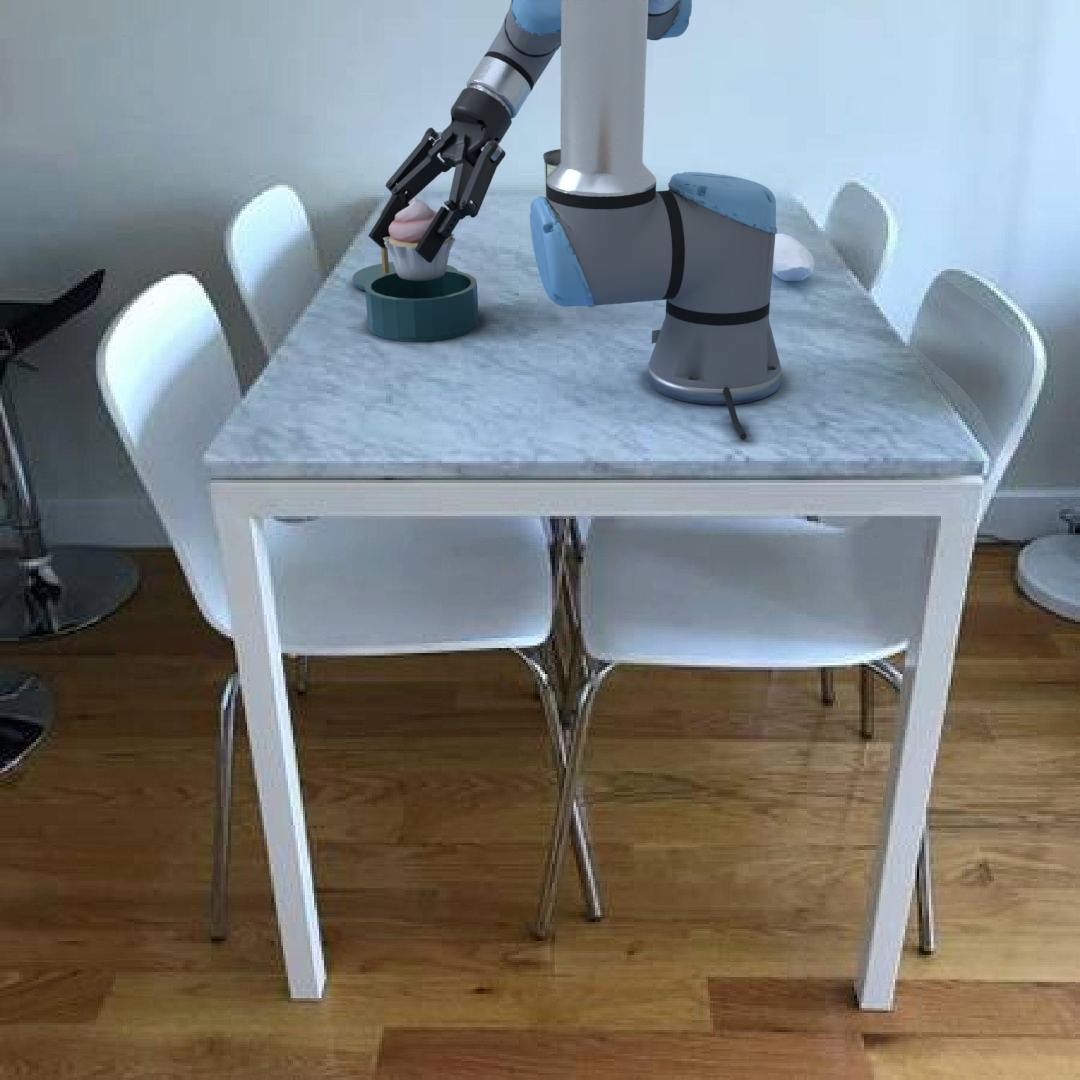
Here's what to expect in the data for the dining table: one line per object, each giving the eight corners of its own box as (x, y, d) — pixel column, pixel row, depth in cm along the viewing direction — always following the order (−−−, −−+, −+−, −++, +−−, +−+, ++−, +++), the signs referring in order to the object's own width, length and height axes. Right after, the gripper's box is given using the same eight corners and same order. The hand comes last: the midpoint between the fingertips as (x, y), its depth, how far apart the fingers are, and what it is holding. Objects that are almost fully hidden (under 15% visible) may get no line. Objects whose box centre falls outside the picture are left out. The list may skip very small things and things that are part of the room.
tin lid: (480, 282, 181) (478, 223, 177) (395, 305, 172) (391, 242, 168) (415, 262, 191) (412, 206, 187) (332, 283, 182) (326, 223, 178)
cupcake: (417, 261, 167) (412, 186, 162) (471, 271, 162) (467, 194, 157) (370, 278, 160) (363, 200, 155) (424, 289, 155) (420, 209, 151)
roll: (781, 293, 174) (784, 253, 171) (757, 270, 185) (760, 232, 182) (822, 291, 175) (825, 251, 172) (796, 268, 185) (799, 231, 182)
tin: (500, 323, 164) (499, 283, 161) (413, 349, 155) (410, 307, 152) (432, 301, 173) (430, 262, 171) (346, 324, 165) (343, 284, 162)
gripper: (562, 132, 155) (470, 282, 153) (452, 113, 169) (367, 250, 167) (530, 93, 149) (434, 248, 147) (419, 76, 164) (331, 217, 162)
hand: (399, 249), depth 157 cm, fingers closed on cupcake, 9 cm apart
